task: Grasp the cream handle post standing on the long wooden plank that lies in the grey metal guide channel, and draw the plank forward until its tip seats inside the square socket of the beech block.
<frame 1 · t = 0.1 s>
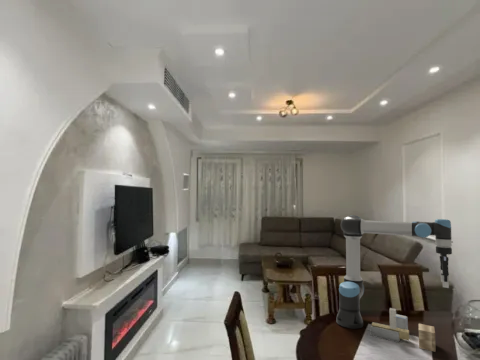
hand: (444, 284, 165), 28 cm above the table, fingers open, 13 cm apart
medicine box: (399, 331, 168), on the table
socket block: (426, 346, 151), on the table
long wooden plank: (389, 321, 160), point 8 cm above the table, slide at 0.0 cm
guide channel: (385, 336, 161), on the table
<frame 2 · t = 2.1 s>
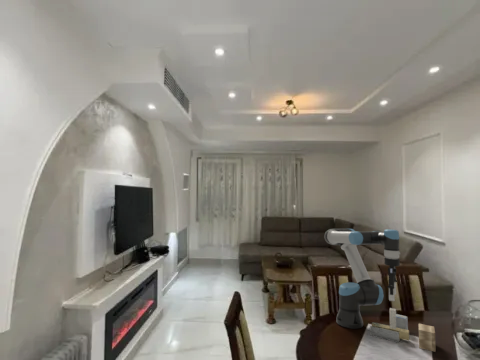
hand: (392, 297, 160), 22 cm above the table, fingers open, 13 cm apart
nothing on the table moved.
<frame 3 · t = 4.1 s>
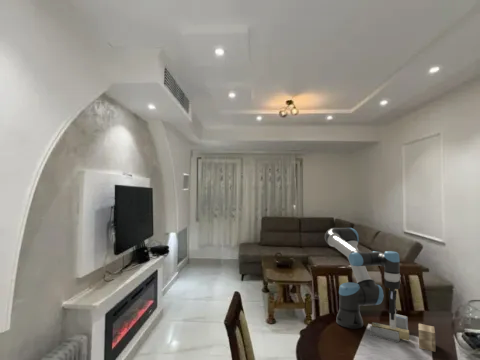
hand: (392, 324, 160), 8 cm above the table, fingers closed on long wooden plank, 3 cm apart
long wooden plank: (389, 321, 160), point 8 cm above the table, slide at 0.0 cm, touching gripper
everything else where it was.
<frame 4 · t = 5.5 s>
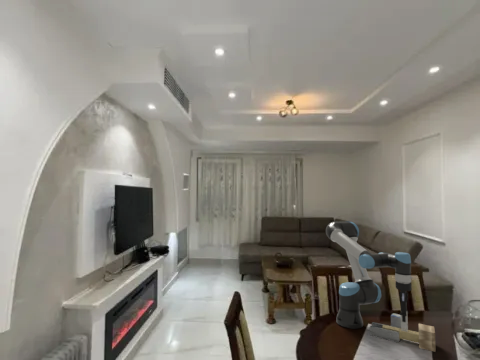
hand: (404, 326, 157), 8 cm above the table, fingers closed on long wooden plank, 3 cm apart
long wooden plank: (401, 324, 158), point 8 cm above the table, slide at 5.4 cm, touching gripper
everything else where it was.
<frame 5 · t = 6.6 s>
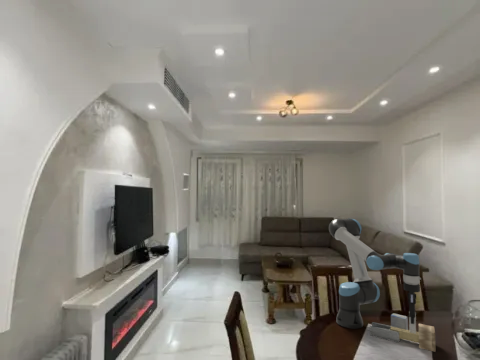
hand: (412, 328, 155), 8 cm above the table, fingers closed on long wooden plank, 3 cm apart
long wooden plank: (409, 325, 156), point 8 cm above the table, slide at 9.3 cm, touching gripper
everything else where it was.
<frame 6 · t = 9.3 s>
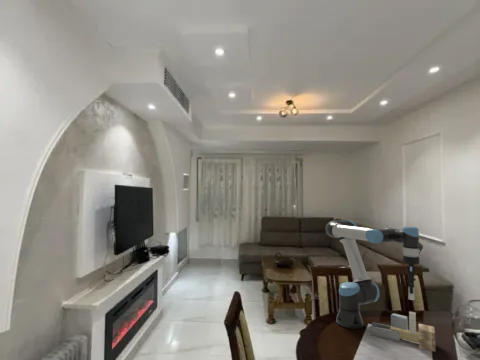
hand: (411, 296, 156), 24 cm above the table, fingers open, 13 cm apart
long wooden plank: (409, 325, 156), point 8 cm above the table, slide at 9.3 cm
everything else where it was.
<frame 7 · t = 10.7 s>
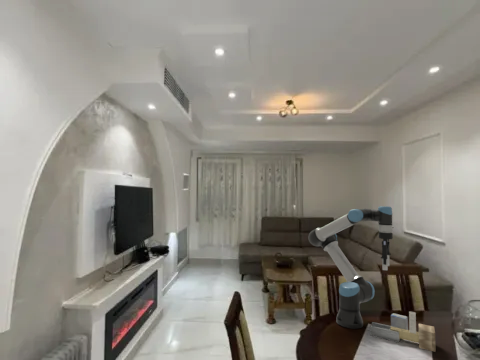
hand: (386, 267, 175), 35 cm above the table, fingers open, 13 cm apart
nothing on the table moved.
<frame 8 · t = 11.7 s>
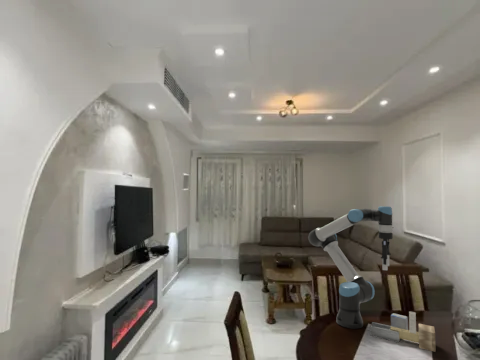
hand: (386, 267, 175), 35 cm above the table, fingers open, 13 cm apart
nothing on the table moved.
at the end: long wooden plank slide at 9.3 cm; the gripper is holding nothing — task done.
